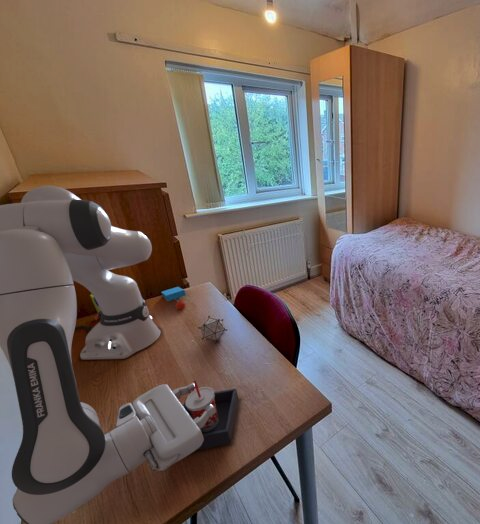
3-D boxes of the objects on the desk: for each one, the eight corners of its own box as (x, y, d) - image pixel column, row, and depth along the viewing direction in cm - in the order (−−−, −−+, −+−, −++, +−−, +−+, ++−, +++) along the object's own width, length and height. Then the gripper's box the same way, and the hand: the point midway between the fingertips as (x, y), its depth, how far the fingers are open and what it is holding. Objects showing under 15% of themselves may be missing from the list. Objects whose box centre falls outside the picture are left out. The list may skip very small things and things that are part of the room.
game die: (214, 344, 103) (205, 318, 104) (235, 336, 103) (226, 310, 104) (198, 349, 94) (189, 321, 96) (220, 340, 94) (211, 312, 95)
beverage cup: (221, 429, 68) (208, 387, 63) (193, 438, 66) (177, 396, 61) (222, 409, 74) (210, 368, 68) (196, 416, 72) (181, 375, 66)
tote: (174, 455, 64) (168, 442, 62) (190, 408, 75) (186, 396, 73) (231, 443, 66) (227, 431, 64) (239, 399, 77) (236, 388, 75)
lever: (166, 306, 128) (173, 313, 115) (161, 291, 127) (167, 296, 113) (183, 300, 133) (191, 306, 119) (178, 286, 131) (186, 290, 117)
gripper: (149, 466, 50) (223, 412, 60) (117, 402, 63) (183, 366, 72) (159, 486, 53) (229, 432, 63) (127, 421, 65) (190, 384, 75)
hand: (204, 396), depth 67 cm, fingers open, 8 cm apart
